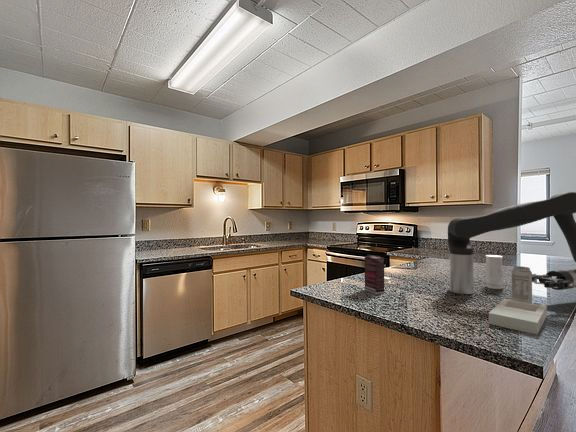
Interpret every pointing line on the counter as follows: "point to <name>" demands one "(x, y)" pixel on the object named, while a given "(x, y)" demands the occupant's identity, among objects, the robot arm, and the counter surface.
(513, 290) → the energy drink can
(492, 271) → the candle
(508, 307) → the socket block
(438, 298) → the counter surface
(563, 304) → the counter surface
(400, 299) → the counter surface
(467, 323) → the counter surface
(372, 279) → the supplement box
